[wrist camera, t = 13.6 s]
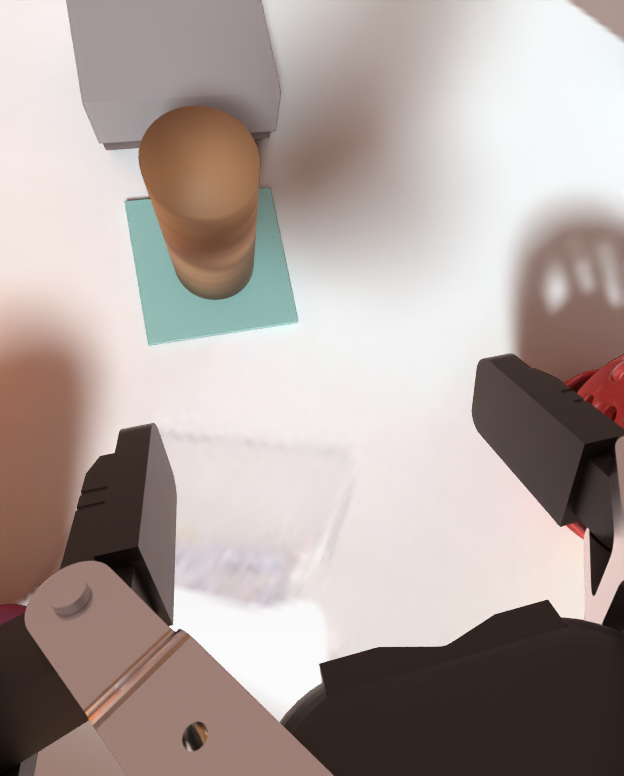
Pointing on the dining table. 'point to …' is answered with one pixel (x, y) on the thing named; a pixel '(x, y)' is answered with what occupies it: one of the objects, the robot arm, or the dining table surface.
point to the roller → (204, 196)
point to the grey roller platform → (172, 63)
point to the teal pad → (198, 315)
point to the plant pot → (601, 400)
